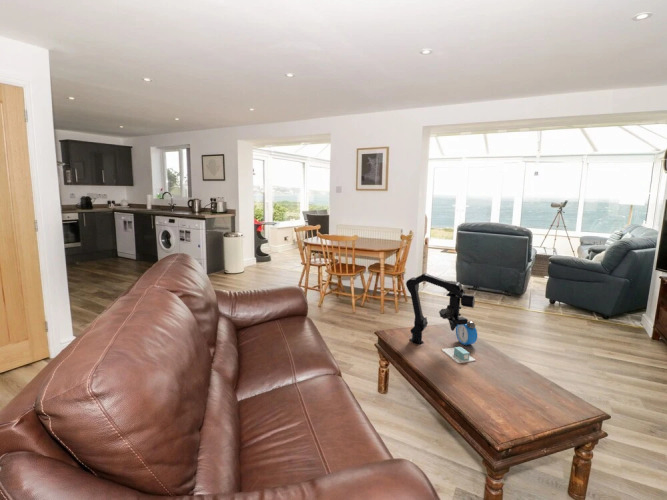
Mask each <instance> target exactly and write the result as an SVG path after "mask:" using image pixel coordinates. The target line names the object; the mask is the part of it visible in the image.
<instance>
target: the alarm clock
mask: <svg viewBox="0 0 667 500" xmlns="http://www.w3.org/2000/svg"><path fill="white" fill-rule="evenodd" d="M455 336H456V338H457V340H458V342H459V343H461V345H463V346H464V345H465V346H467V345H472V344H475V343H476V342H477V341H478V330H477V327H476V324H475V323H474V321H468V324H462V325H457V326H456V328H455Z"/></svg>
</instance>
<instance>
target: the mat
mask: <svg viewBox="0 0 667 500" xmlns="http://www.w3.org/2000/svg"><path fill="white" fill-rule="evenodd" d="M441 351H442V352H443V353H444V354H445V355H446V356H448V357H449V358H450V359H452V360H453V361H454V362H456V363H457V364H462V363H463V364H464V363H470V362H476V359H475V358H474V357H472V356H471V355H469V360H464V361H462V360H461V359H460V358H458V357H457V356H456V355H455V354H454V347H449V348H441Z"/></svg>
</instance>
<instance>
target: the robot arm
mask: <svg viewBox="0 0 667 500" xmlns="http://www.w3.org/2000/svg"><path fill="white" fill-rule="evenodd" d="M423 282H426V283H429V284H432V285H434V286H438V287H441V288H443V289H445V290H446V291H447V292H448V293H447V294H446V295H445V296H446V297H449V301H448V305H447V306H446V308H441V309H440V310H439V312H438V313H439V317H441V318H442V319H443V320H447V321H448V323H449V326H450V330H451V331H453V332H454V330H456V326H457V325H462V324H468V322H469V319H468V318H466V317H464V316H461V315H462V314H461V313H460V310H461V309H462V307H465V308H471V309H474V307H475V304H476V300H475V295H471V294H466V292H465V290H464V289H463V285H462V284H461V283H460V282H459V281H453V280H446V279H443V278H440V277H438V276H434V275H431V274H428V273H425V272H424V273H423V274H421V275H419V276H417V277H411V278H409V279H408V280H407V281H406V282H405V285H406V289H407V291H408V292H409V293H410V297H411V303H412V308H413V313H414V322H413V324H414V326H413V327H412V328H411V329H410V330H409V331H410V333H411V338H408V339H409V341H410V342H411V343H412V344H414V345H416V344H424V341H423V331H424V330H425V329H426V328H427V327H428V317H424V314H423V310H422V305H421V299H420V295H419V289H420V284H421V283H423Z"/></svg>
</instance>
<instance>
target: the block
mask: <svg viewBox="0 0 667 500" xmlns="http://www.w3.org/2000/svg"><path fill="white" fill-rule="evenodd" d="M453 348H454V354H455V355H456V356H457V357H458V358H460V359H461V360H462V361H464V360H469V356H470V352H469V351H467V350H466V349H464V348H463V347H462V346H457V347H456V346H455V347H453Z"/></svg>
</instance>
